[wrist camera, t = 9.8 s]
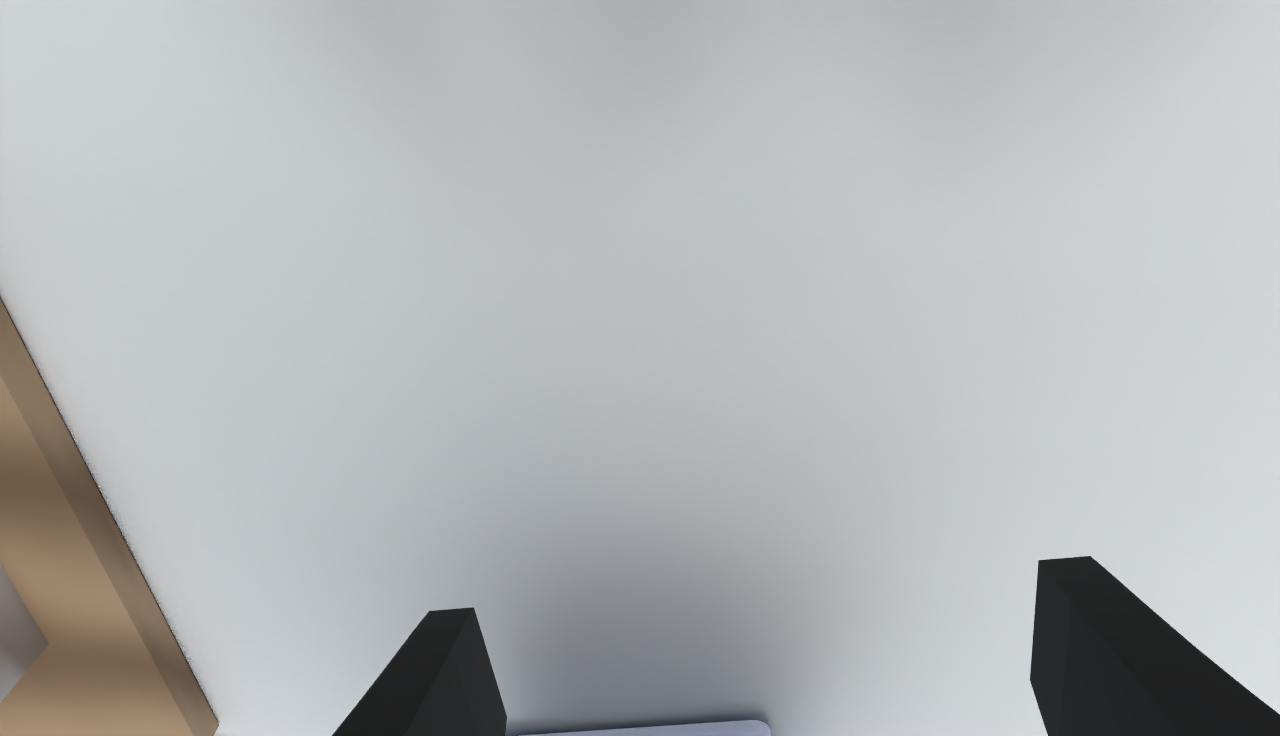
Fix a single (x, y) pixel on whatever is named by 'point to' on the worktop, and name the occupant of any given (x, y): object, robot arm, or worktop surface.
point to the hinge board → (74, 589)
